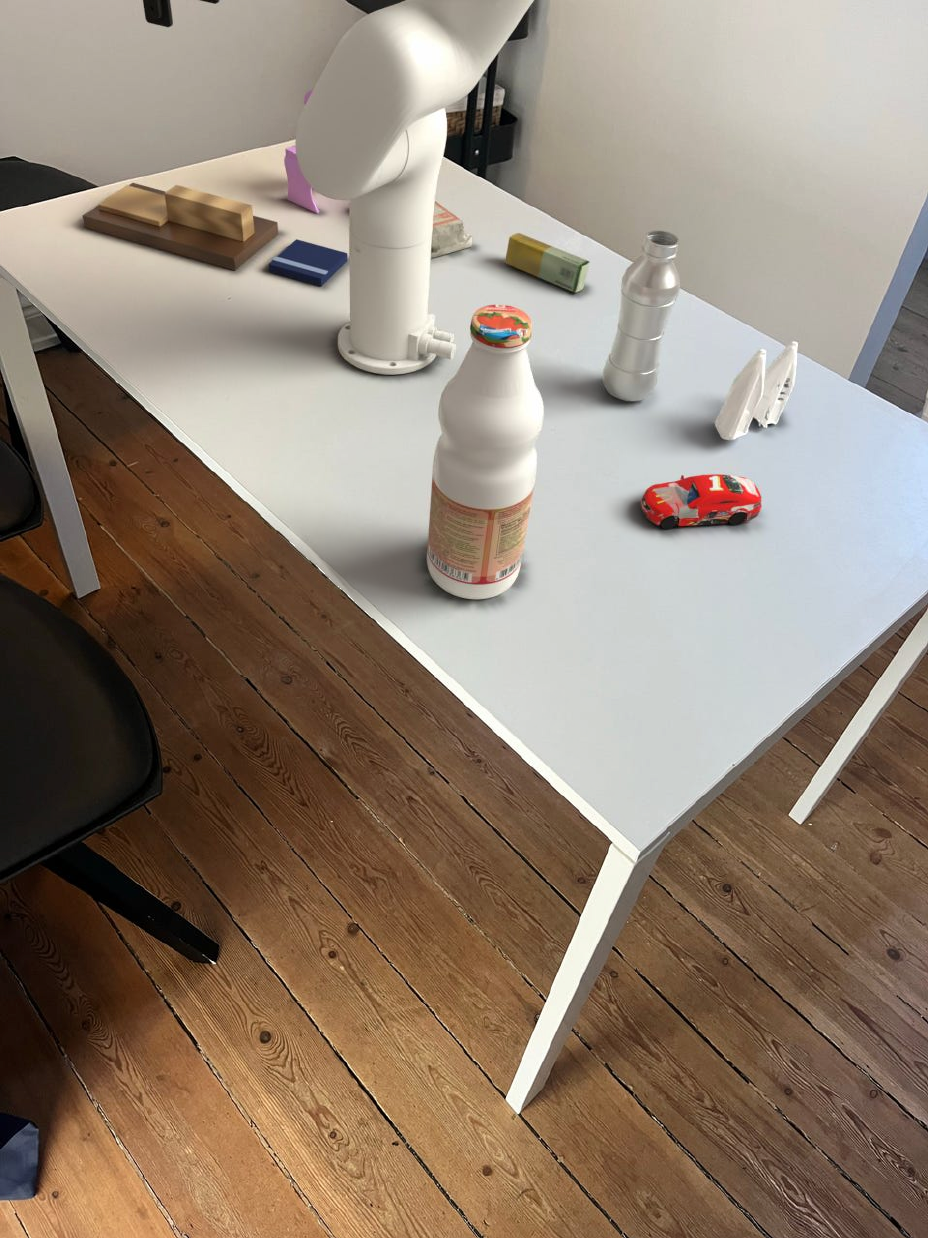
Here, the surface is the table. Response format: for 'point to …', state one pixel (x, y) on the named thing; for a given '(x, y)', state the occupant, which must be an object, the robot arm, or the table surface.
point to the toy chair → (298, 178)
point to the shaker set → (758, 393)
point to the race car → (702, 501)
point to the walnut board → (184, 236)
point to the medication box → (547, 262)
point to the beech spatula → (184, 210)
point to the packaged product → (447, 233)
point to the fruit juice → (485, 459)
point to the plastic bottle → (643, 318)
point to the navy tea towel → (308, 262)
